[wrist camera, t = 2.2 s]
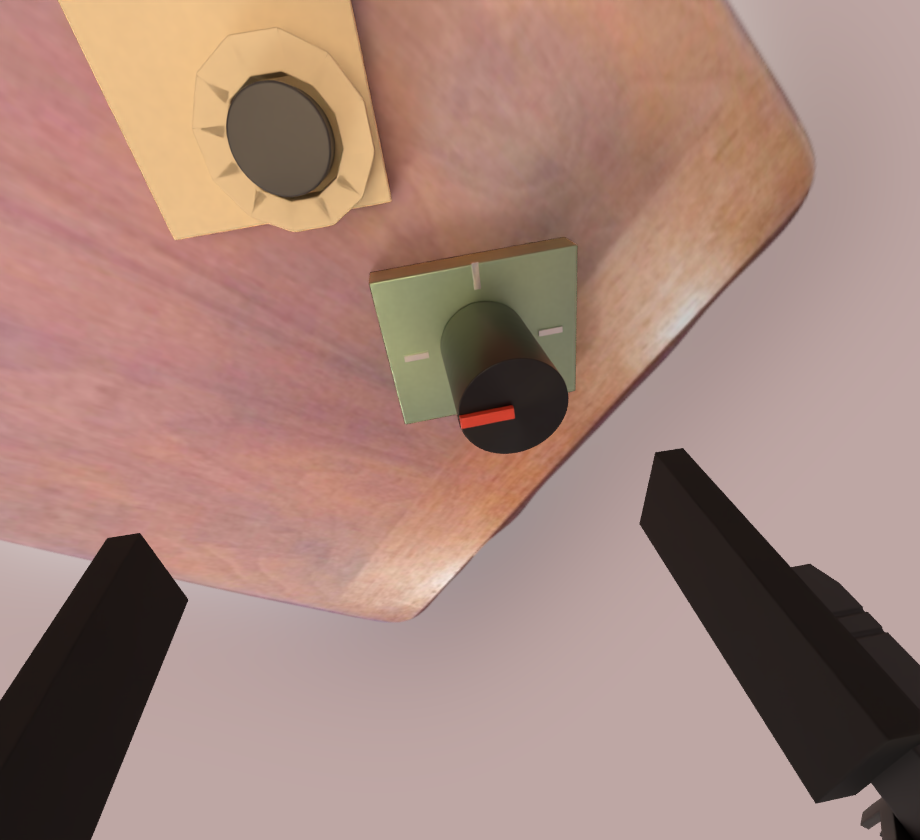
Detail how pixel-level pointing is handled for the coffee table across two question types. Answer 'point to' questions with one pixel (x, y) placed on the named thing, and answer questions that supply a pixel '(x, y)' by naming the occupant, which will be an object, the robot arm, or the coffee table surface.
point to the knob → (501, 379)
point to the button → (280, 138)
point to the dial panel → (461, 284)
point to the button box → (211, 93)
